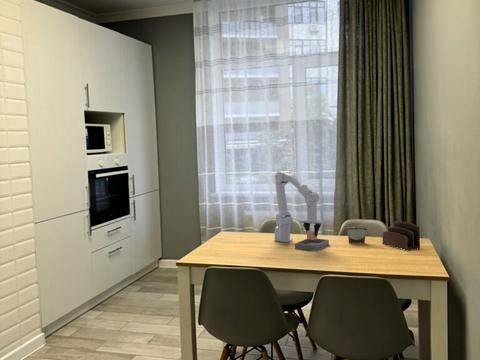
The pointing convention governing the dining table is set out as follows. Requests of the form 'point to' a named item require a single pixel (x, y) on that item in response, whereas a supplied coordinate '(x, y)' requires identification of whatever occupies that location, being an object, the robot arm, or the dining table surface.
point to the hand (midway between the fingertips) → (312, 235)
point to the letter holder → (402, 236)
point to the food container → (356, 234)
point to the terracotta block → (311, 235)
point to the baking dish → (311, 244)
